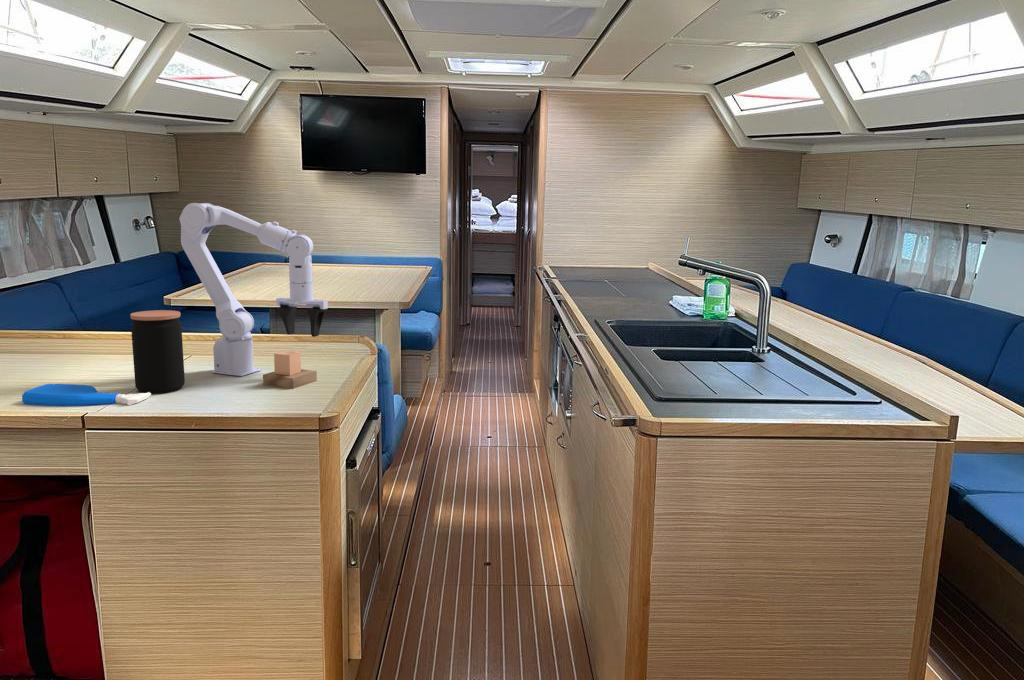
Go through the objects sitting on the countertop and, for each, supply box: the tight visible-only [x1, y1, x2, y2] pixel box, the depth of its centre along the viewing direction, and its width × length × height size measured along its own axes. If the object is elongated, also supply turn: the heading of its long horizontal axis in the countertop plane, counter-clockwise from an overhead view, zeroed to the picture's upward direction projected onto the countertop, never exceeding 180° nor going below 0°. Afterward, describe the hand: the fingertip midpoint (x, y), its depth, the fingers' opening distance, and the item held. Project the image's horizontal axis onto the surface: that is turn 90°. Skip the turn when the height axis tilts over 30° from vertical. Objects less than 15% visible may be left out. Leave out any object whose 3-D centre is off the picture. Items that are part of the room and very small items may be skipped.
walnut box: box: [262, 368, 318, 389], centre depth 189 cm, size 9×9×3 cm
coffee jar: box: [129, 309, 186, 395], centre depth 179 cm, size 11×11×18 cm
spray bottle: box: [21, 383, 152, 407], centre depth 170 cm, size 3×11×24 cm
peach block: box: [273, 350, 302, 376], centre depth 188 cm, size 4×4×5 cm
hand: (302, 335), depth 199 cm, fingers open, 7 cm apart
